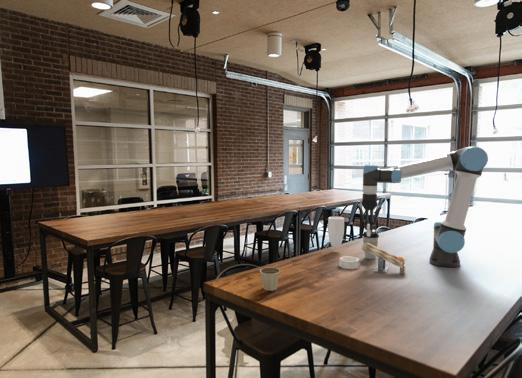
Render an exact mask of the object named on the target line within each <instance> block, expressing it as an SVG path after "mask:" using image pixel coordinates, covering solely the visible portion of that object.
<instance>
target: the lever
mask: <svg viewBox="0 0 522 378" xmlns="http://www.w3.org/2000/svg"><path fill="white" fill-rule="evenodd" d="M360 250H361V251H364V252H365V251H366V252H368V253H370V254H373V255H375V256H376V257H377V258H383V260H385V262H388V263H390V264H392V265H395V266H397V267H399V268H400V267H401V268H403V266H405V263H406V261H407V259H406V258H404V262H401V261H398V260H397V258H398V257H399V256H397V255H394V254H392V253H390V252H388V251H385V250H383V249H381V248H379V247H378V246H377V247H376V246H374V245H371V244H369V243H366V242H365V244H364V243H363V244H362V246H361V248H360Z"/></svg>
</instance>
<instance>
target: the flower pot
mask: <svg viewBox="0 0 522 378" xmlns="http://www.w3.org/2000/svg"><path fill="white" fill-rule="evenodd" d="M259 272H260V276H261V279H262V287H263V290H265V291H266V292H267V291H271V292H273V291H277V289H278V283H279V275H280V274H281V273H280V272H281V269H280V268H278V267H274V266H273V267H272V266H271V267H263V268H260V269H259Z"/></svg>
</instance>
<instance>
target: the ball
mask: <svg viewBox="0 0 522 378" xmlns="http://www.w3.org/2000/svg"><path fill="white" fill-rule="evenodd" d="M397 257H398V258H397V260H398V261H401V262H404V260H405V258H404V257H403V256H397Z"/></svg>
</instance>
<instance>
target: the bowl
mask: <svg viewBox="0 0 522 378" xmlns="http://www.w3.org/2000/svg"><path fill="white" fill-rule="evenodd" d="M338 261H339V262H338V263H339V265H338V266H339V267H341V268H342V269H347V270H354V269H355V270H356V269H359V267H360V258H358V257H356V256H349V255H348V256H347V255H346V256H341V257H340V258H339V259H338Z"/></svg>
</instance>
